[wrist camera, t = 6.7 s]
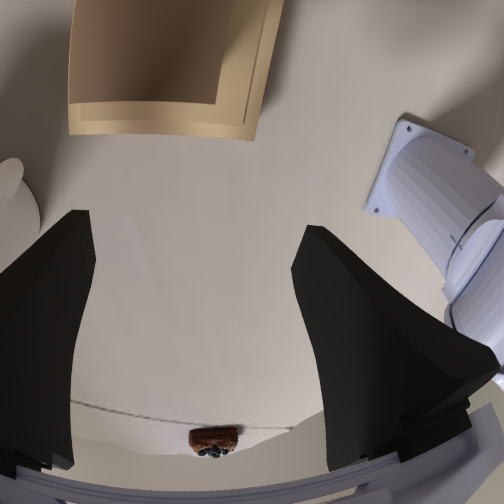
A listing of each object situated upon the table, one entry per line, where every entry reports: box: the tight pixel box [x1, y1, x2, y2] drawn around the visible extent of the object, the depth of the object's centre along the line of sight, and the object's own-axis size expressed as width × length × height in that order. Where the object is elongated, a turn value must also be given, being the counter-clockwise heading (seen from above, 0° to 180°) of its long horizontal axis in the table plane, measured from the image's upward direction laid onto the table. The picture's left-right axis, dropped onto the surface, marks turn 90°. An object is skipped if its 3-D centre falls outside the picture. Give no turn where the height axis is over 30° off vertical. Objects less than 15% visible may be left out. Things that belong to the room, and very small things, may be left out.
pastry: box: [189, 427, 238, 458], centre depth 55 cm, size 11×12×6 cm
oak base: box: [68, 0, 284, 141], centre depth 12 cm, size 10×10×3 cm
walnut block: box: [69, 0, 234, 105], centre depth 8 cm, size 4×4×6 cm
